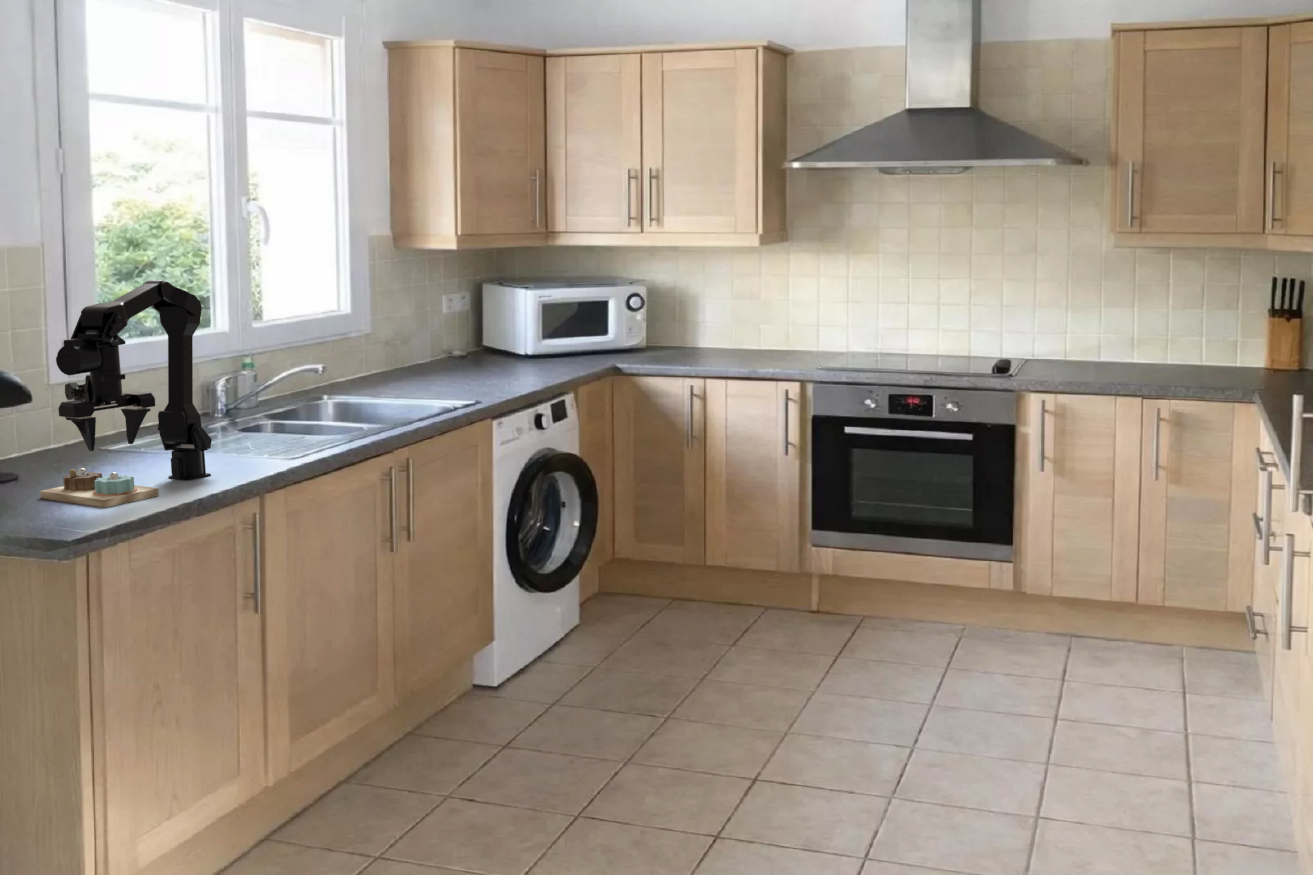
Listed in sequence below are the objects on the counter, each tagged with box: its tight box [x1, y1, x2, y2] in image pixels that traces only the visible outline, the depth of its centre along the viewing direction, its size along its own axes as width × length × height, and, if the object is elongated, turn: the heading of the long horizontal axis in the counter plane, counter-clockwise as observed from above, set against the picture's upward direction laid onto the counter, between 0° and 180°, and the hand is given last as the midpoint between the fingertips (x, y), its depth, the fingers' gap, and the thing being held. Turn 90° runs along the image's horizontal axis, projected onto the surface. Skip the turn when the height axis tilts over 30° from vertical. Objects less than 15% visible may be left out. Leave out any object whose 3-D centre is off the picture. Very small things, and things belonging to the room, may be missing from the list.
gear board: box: [39, 484, 160, 508], centre depth 290 cm, size 13×20×2 cm, turn 58°
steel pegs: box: [77, 467, 119, 480], centre depth 290 cm, size 2×12×4 cm, turn 58°
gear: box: [62, 468, 103, 491], centre depth 293 cm, size 7×7×4 cm
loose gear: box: [95, 474, 135, 494], centre depth 287 cm, size 7×7×2 cm
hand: (111, 447), depth 286 cm, fingers open, 9 cm apart
